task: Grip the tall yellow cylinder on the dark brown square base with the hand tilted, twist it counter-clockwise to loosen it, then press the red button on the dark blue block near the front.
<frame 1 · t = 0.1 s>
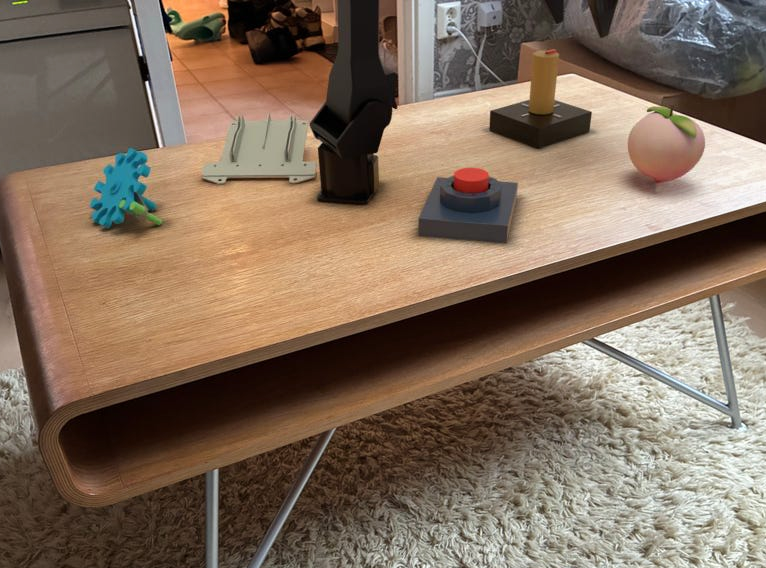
hand: (581, 29, 100), 15 cm above the table, tool pointing down, fingers open, 9 cm apart
metal bracket: (266, 164, 105), on the table
gear: (129, 220, 91), on the table
release button: (471, 181, 88), point 4 cm above the table, slide at 0.1 cm
yellow cylinder: (543, 81, 109), point 7 cm above the table, hinge at 0.0°
dark brown square base: (539, 131, 114), on the table
decorative fruit: (655, 185, 97), on the table
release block: (469, 217, 90), on the table
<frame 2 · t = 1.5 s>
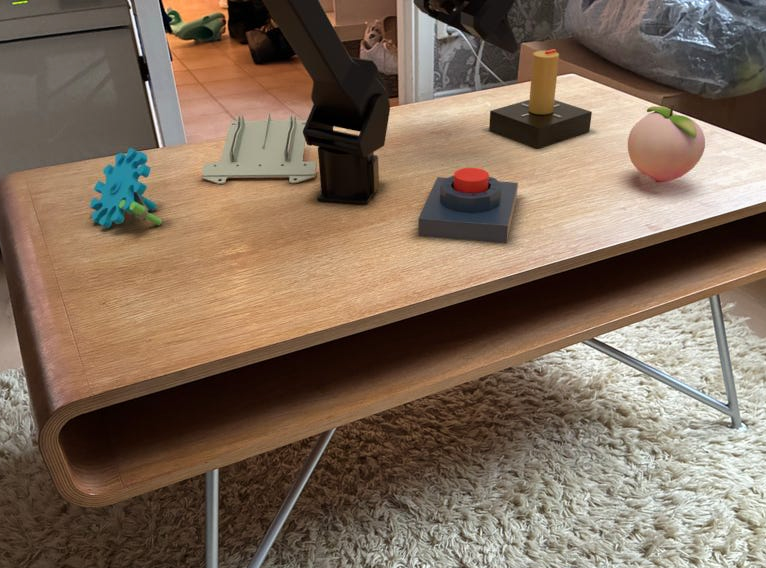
hand: (498, 43, 103), 13 cm above the table, tool tilted 45°, fingers open, 9 cm apart
nothing on the table moved.
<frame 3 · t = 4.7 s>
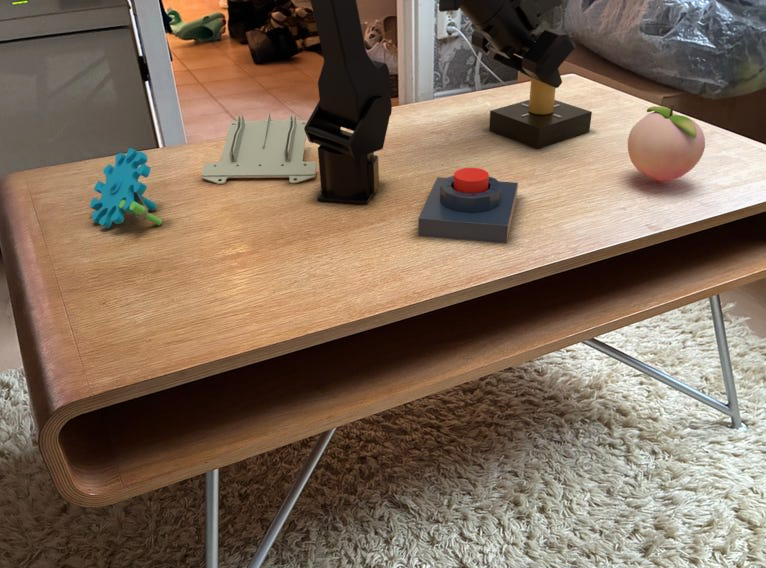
hand: (551, 81, 110), 7 cm above the table, tool tilted 45°, fingers closed on yellow cylinder, 4 cm apart
yellow cylinder: (543, 81, 109), point 7 cm above the table, hinge at 0.0°, touching gripper
everything else where it was.
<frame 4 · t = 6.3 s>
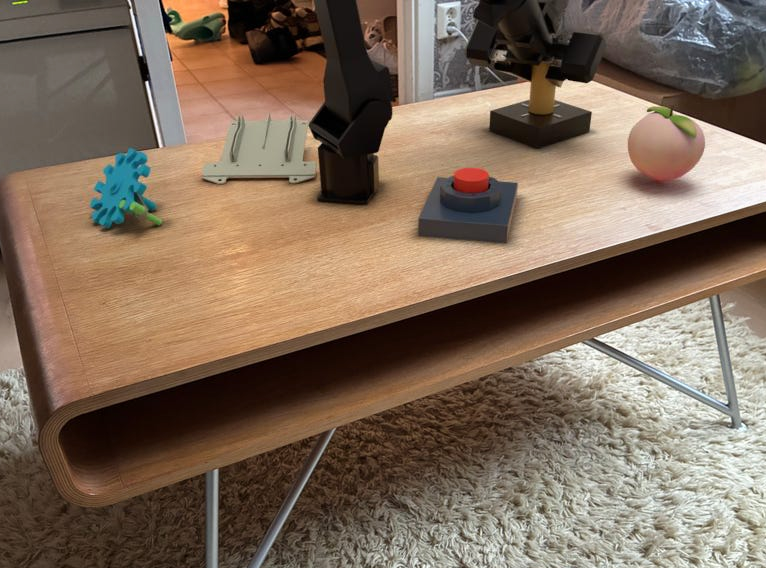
hand: (548, 82, 111), 7 cm above the table, tool tilted 45°, fingers open, 4 cm apart
yellow cylinder: (543, 81, 109), point 7 cm above the table, hinge at 30.7°
everything else where it was.
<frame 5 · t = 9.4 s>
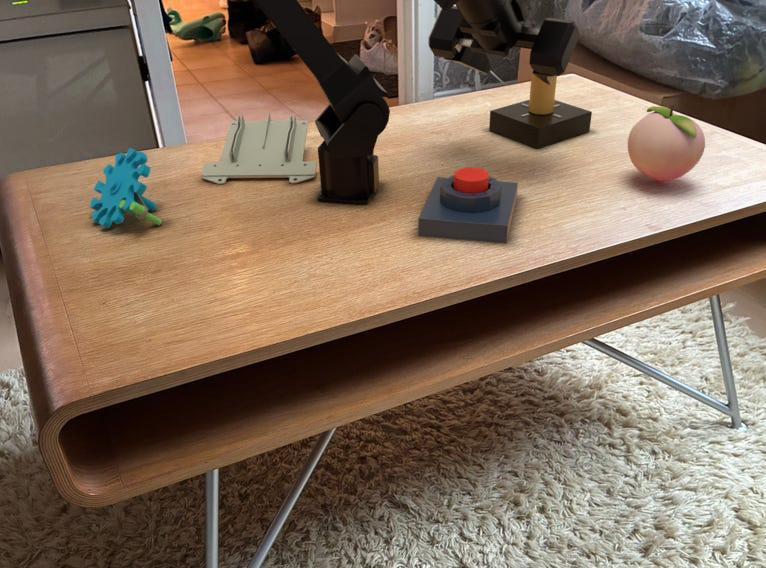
hand: (519, 76, 102), 10 cm above the table, tool tilted 45°, fingers open, 9 cm apart
nothing on the table moved.
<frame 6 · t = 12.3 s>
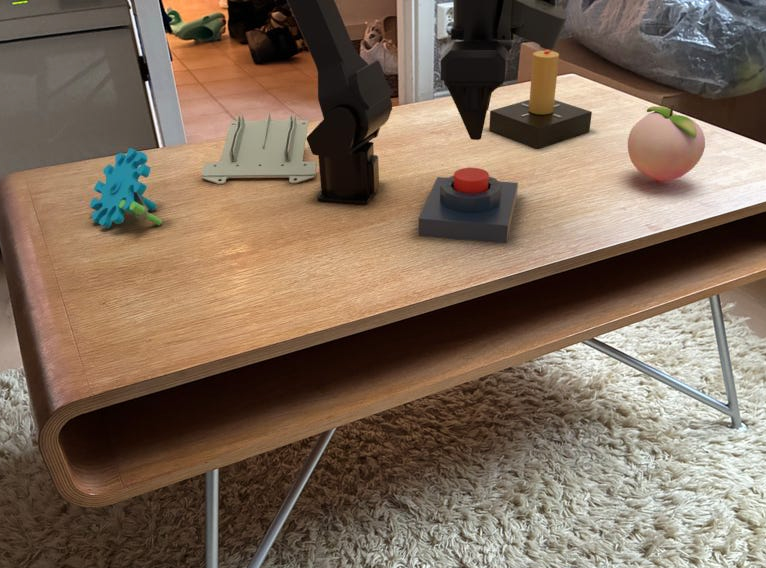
hand: (479, 124, 84), 11 cm above the table, tool pointing down, fingers open, 9 cm apart
nothing on the table moved.
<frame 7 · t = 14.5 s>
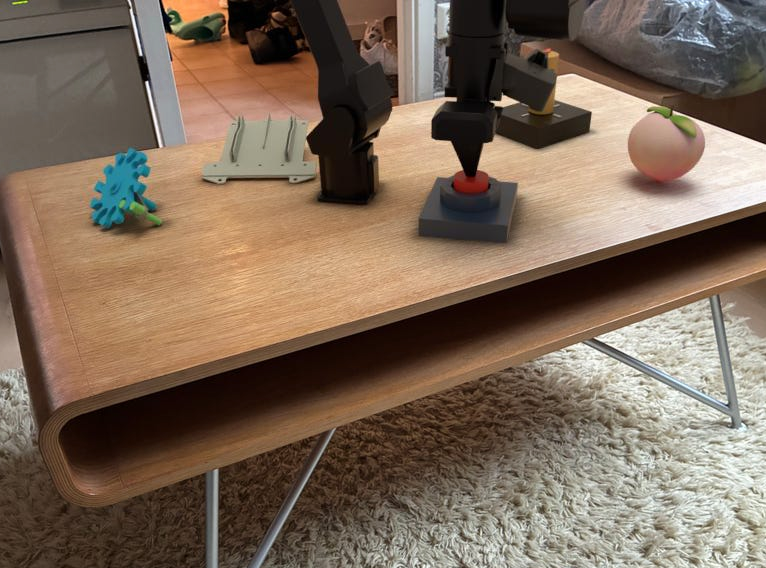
hand: (470, 175, 87), 5 cm above the table, tool pointing down, fingers closed, pressing on release button
release button: (471, 183, 88), point 4 cm above the table, slide at -0.1 cm, touching gripper
everything else where it was.
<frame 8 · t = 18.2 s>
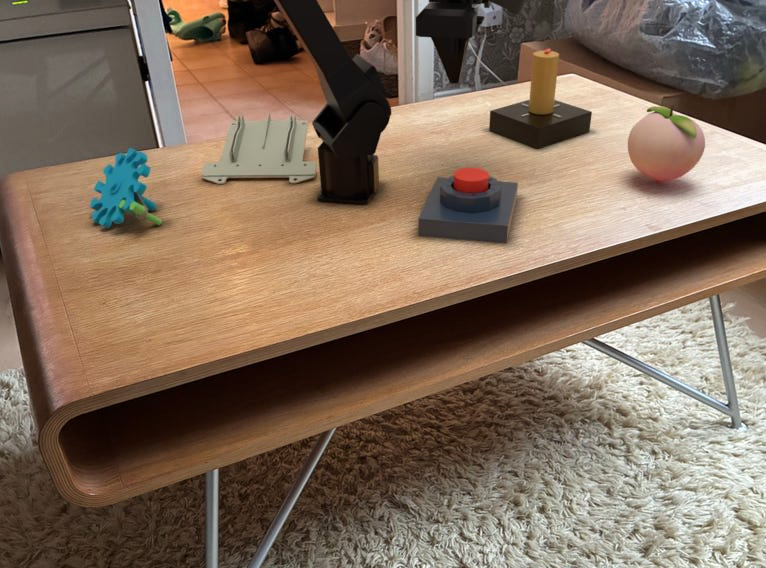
hand: (454, 82, 93), 12 cm above the table, tool pointing down, fingers closed
release button: (471, 181, 88), point 4 cm above the table, slide at 0.1 cm
everything else where it was.
at the end: yellow cylinder at +31° (first picture: +0°); release button pushed in 1.1 cm at the most during the clip, back to where it started at the end; release button slide at 0.1 cm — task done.
